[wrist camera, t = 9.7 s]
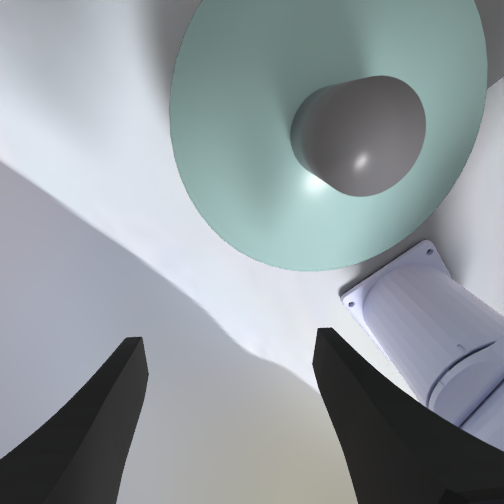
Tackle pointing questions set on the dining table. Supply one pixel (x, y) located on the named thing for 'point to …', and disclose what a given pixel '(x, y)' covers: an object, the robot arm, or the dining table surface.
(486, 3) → the mat
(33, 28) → the dining table surface
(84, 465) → the robot arm
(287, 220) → the lid
